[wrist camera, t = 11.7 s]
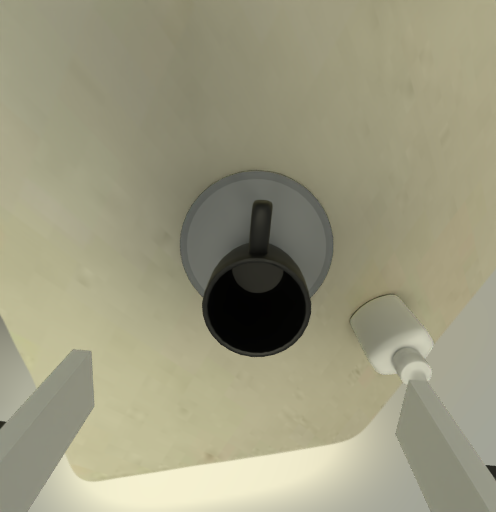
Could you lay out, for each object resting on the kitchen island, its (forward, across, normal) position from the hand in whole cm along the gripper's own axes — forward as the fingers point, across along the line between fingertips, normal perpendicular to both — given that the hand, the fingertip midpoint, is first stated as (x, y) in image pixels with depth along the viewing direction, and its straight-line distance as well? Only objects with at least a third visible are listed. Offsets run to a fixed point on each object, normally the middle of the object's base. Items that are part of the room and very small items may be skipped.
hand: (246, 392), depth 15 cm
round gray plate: (+23, 0, 0) cm, 23 cm away
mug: (+22, 0, 0) cm, 22 cm away
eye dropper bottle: (+23, +13, -6) cm, 27 cm away
